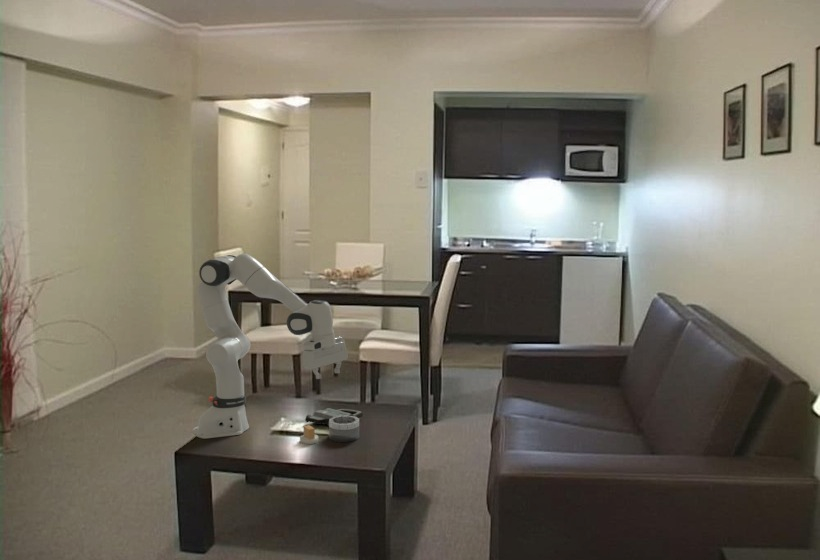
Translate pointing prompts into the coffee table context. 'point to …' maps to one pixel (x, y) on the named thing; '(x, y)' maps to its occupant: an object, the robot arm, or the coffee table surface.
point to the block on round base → (309, 436)
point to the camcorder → (330, 415)
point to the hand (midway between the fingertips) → (328, 375)
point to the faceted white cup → (344, 428)
